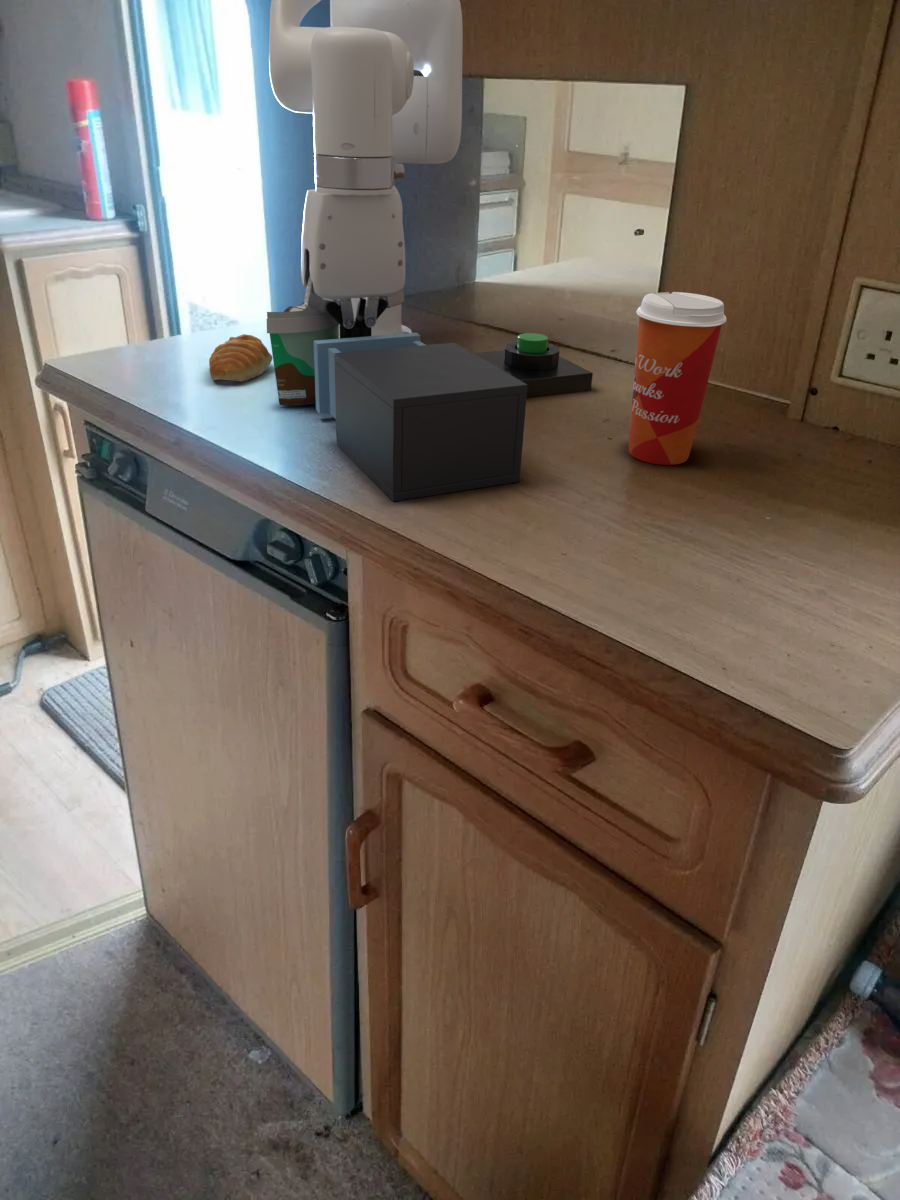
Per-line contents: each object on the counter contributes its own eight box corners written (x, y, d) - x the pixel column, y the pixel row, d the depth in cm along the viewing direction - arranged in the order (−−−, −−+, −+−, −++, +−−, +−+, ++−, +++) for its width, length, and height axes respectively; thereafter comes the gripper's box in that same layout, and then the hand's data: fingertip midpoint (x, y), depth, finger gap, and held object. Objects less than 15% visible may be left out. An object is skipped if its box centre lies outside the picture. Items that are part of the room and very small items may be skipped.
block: (470, 370, 114) (472, 338, 112) (539, 364, 118) (542, 332, 116) (517, 399, 105) (520, 365, 103) (590, 391, 109) (594, 357, 107)
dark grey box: (336, 444, 90) (334, 353, 86) (451, 430, 95) (454, 342, 90) (393, 501, 79) (393, 399, 74) (519, 481, 84) (527, 384, 79)
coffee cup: (601, 444, 93) (621, 292, 86) (668, 435, 96) (693, 288, 88) (648, 474, 86) (673, 312, 79) (718, 464, 89) (749, 307, 82)
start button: (511, 348, 110) (512, 334, 109) (537, 346, 112) (538, 331, 111) (526, 356, 107) (527, 341, 107) (552, 353, 109) (553, 339, 108)
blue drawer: (300, 394, 100) (296, 327, 97) (395, 385, 105) (396, 320, 101) (361, 454, 86) (360, 377, 82) (469, 440, 90) (473, 366, 86)
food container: (329, 411, 97) (322, 314, 92) (274, 409, 98) (264, 312, 93) (362, 382, 107) (357, 293, 103) (312, 379, 108) (305, 292, 104)
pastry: (253, 387, 105) (251, 354, 103) (196, 384, 105) (192, 351, 103) (275, 365, 113) (272, 334, 111) (221, 362, 113) (218, 331, 111)
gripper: (408, 172, 95) (406, 349, 104) (268, 172, 89) (278, 360, 98) (438, 179, 89) (433, 366, 98) (291, 180, 83) (299, 378, 92)
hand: (356, 362), depth 98 cm, fingers closed
